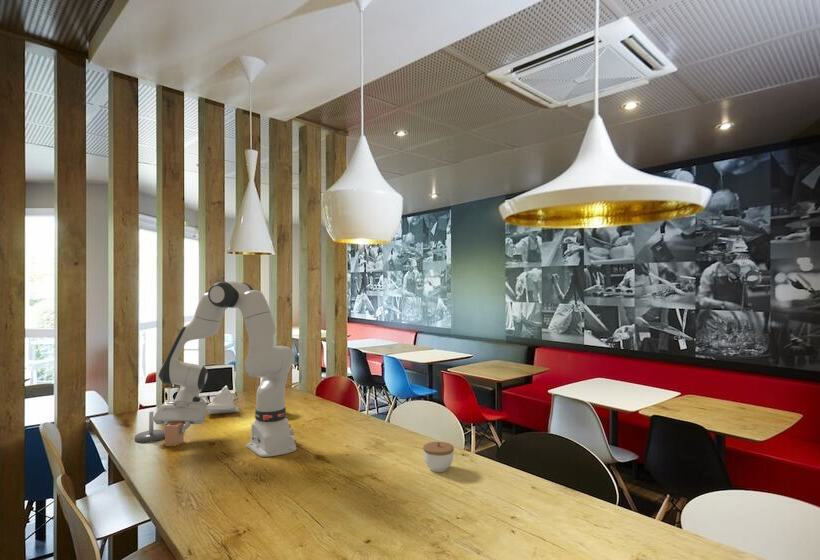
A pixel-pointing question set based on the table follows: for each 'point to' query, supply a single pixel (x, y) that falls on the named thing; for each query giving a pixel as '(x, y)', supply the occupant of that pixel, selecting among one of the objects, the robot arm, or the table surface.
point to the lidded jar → (438, 455)
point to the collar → (173, 434)
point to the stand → (150, 432)
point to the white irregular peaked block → (222, 403)
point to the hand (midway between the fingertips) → (173, 433)
